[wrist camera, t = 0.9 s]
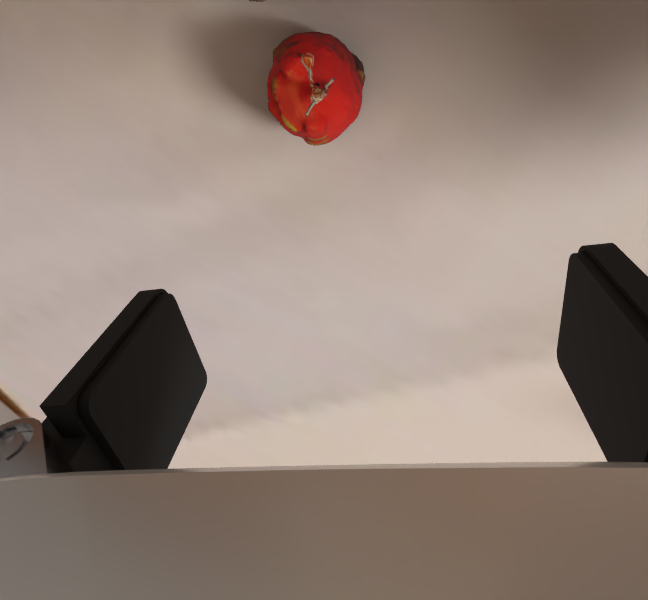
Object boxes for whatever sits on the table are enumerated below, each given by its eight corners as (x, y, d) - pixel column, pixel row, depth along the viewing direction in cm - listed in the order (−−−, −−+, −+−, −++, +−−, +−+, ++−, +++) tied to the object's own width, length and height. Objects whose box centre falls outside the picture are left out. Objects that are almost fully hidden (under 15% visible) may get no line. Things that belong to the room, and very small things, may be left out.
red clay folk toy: (263, 55, 35) (188, 81, 23) (342, 7, 32) (307, 6, 20) (307, 145, 38) (263, 210, 26) (383, 108, 36) (373, 160, 23)
